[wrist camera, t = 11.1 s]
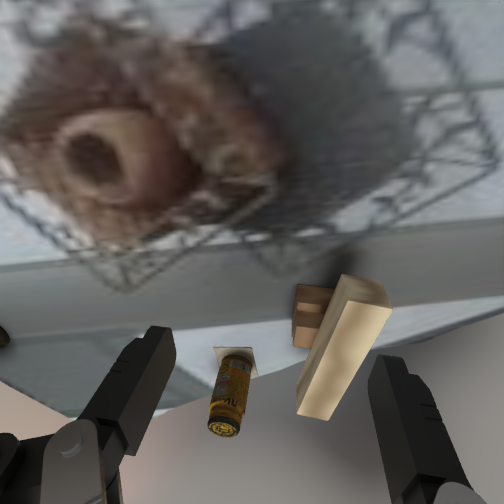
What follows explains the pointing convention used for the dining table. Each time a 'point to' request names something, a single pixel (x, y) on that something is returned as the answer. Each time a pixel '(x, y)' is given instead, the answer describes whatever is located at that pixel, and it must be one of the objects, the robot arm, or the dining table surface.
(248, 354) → the condiment
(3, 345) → the pitcher
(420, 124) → the dining table surface
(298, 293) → the stair steps
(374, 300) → the batten
